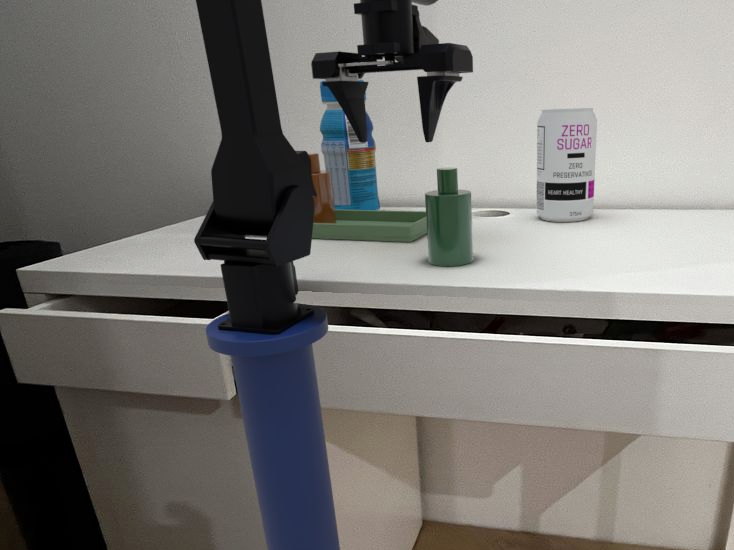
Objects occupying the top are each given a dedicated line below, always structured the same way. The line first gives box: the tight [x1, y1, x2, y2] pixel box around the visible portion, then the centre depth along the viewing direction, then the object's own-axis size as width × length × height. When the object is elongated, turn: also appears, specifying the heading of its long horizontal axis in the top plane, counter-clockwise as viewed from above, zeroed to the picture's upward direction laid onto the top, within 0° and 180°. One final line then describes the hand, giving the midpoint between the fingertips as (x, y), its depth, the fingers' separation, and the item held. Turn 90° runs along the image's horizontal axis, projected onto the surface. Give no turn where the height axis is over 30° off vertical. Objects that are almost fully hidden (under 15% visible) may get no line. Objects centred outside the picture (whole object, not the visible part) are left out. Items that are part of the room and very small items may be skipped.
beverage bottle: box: [319, 79, 381, 210], centre depth 97 cm, size 8×8×20 cm
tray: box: [312, 209, 427, 243], centre depth 89 cm, size 11×31×2 cm, turn 72°
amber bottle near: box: [307, 152, 337, 224], centre depth 87 cm, size 5×5×10 cm
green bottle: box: [424, 166, 474, 267], centre depth 68 cm, size 5×5×10 cm
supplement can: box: [536, 107, 598, 223], centre depth 89 cm, size 8×8×15 cm
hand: (395, 142), depth 75 cm, fingers open, 9 cm apart
